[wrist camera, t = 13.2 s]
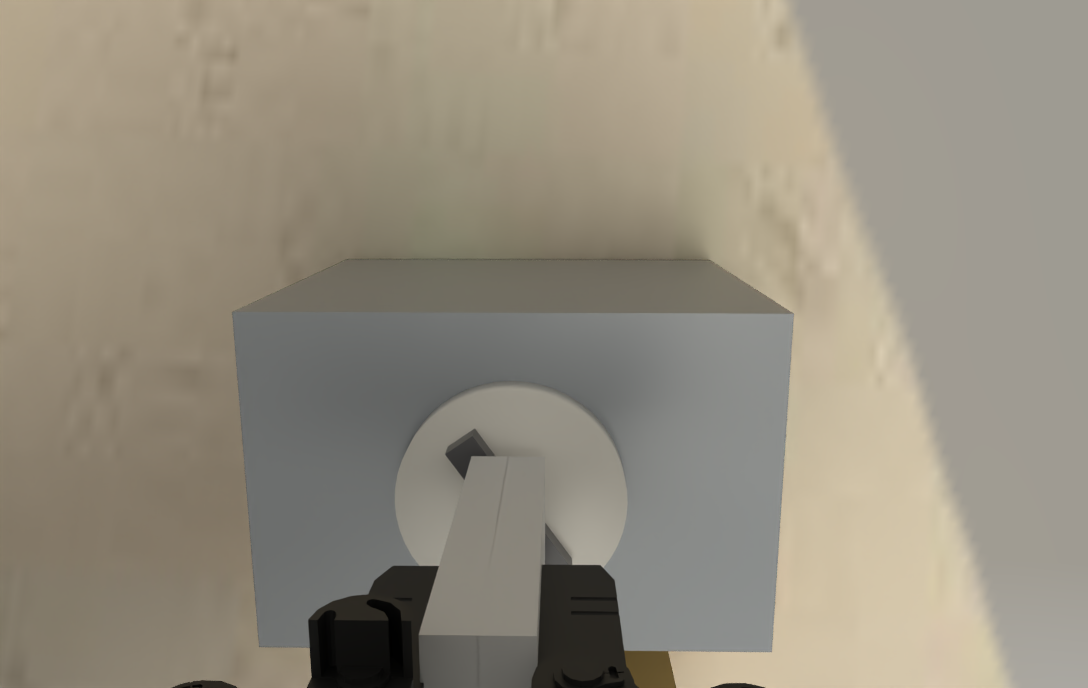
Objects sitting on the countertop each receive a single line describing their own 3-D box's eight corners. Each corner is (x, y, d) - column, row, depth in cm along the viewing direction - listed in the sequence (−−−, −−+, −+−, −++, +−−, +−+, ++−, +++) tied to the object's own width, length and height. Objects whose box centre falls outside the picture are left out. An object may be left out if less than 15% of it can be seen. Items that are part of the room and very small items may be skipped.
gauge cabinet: (700, 487, 29) (786, 686, 18) (358, 486, 29) (238, 681, 18) (709, 259, 27) (811, 325, 16) (347, 259, 28) (207, 323, 17)
